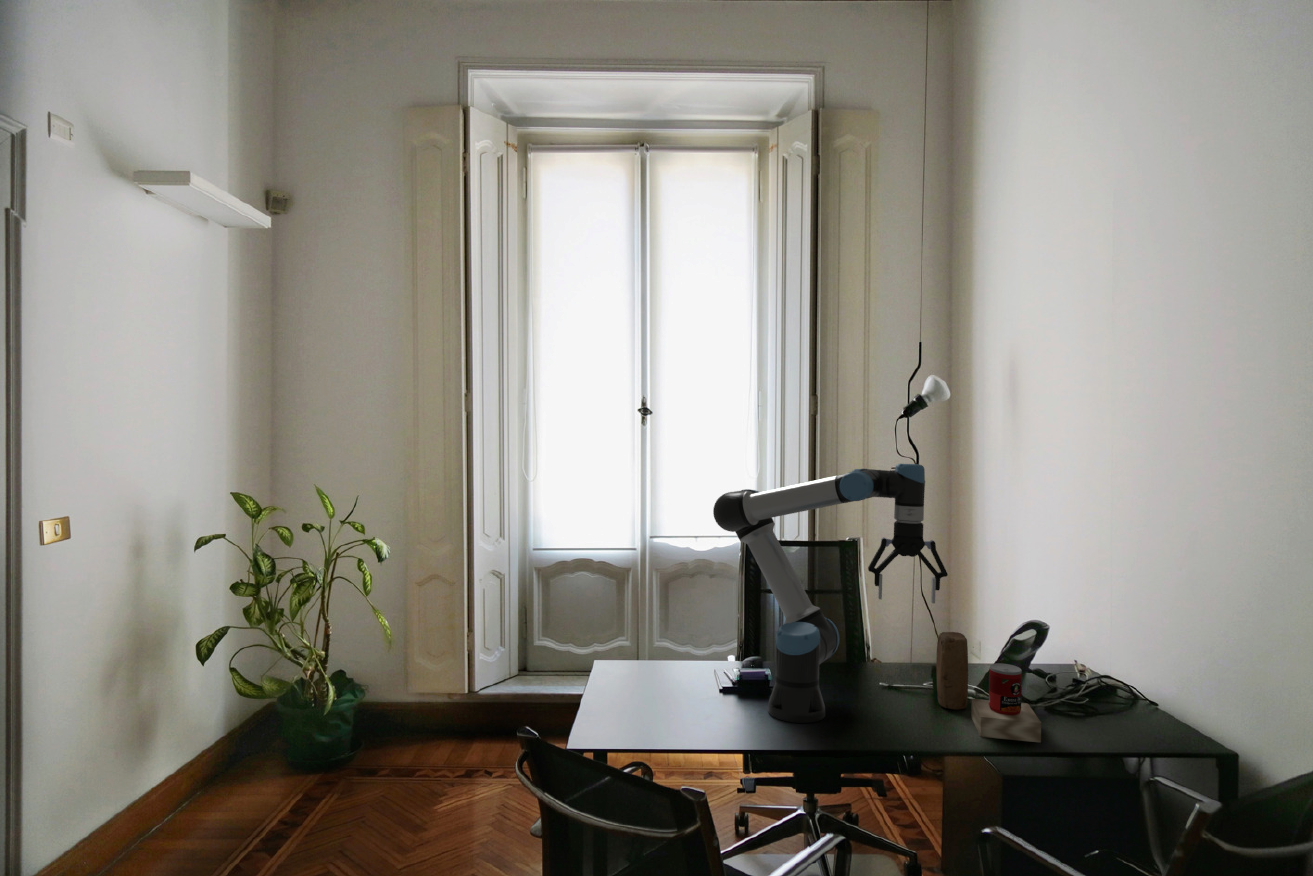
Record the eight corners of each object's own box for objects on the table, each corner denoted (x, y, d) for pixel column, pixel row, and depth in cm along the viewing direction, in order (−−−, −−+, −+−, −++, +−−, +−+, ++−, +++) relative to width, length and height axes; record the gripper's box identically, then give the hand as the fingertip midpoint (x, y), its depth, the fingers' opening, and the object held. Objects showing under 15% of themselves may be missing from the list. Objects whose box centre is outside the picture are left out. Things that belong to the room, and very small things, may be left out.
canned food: (1003, 716, 197) (1003, 673, 196) (981, 706, 204) (982, 664, 204) (1028, 714, 199) (1029, 671, 199) (1006, 703, 206) (1007, 662, 206)
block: (968, 712, 214) (970, 639, 213) (940, 710, 215) (941, 637, 215) (961, 699, 224) (962, 630, 224) (933, 697, 226) (935, 628, 225)
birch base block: (980, 736, 196) (980, 717, 196) (971, 717, 210) (971, 698, 210) (1040, 742, 193) (1041, 722, 193) (1027, 722, 207) (1027, 703, 207)
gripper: (861, 520, 208) (858, 599, 208) (960, 525, 202) (957, 607, 202) (860, 517, 215) (857, 594, 215) (955, 522, 210) (953, 600, 210)
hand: (906, 600), depth 209 cm, fingers open, 13 cm apart
